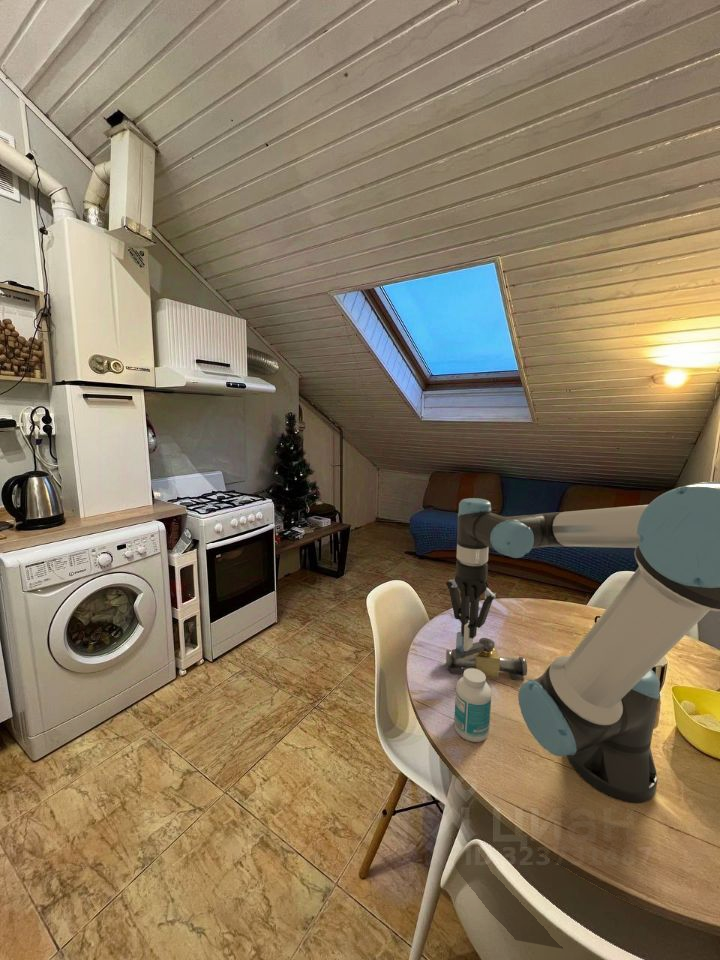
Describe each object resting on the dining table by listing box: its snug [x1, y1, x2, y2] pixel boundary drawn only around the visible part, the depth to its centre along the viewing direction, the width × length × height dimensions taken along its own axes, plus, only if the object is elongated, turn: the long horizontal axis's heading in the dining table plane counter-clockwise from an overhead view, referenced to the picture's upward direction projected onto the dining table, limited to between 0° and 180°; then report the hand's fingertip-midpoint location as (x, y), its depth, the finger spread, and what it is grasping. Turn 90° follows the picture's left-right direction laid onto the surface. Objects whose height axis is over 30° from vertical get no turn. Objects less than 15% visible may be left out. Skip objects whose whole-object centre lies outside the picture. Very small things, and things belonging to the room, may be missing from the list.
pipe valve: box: [445, 645, 528, 682], centre depth 102 cm, size 6×21×7 cm, turn 83°
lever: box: [451, 631, 496, 660], centre depth 99 cm, size 13×4×6 cm, turn 115°
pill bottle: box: [453, 668, 492, 743], centre depth 82 cm, size 8×7×14 cm
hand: (467, 647), depth 96 cm, fingers closed
